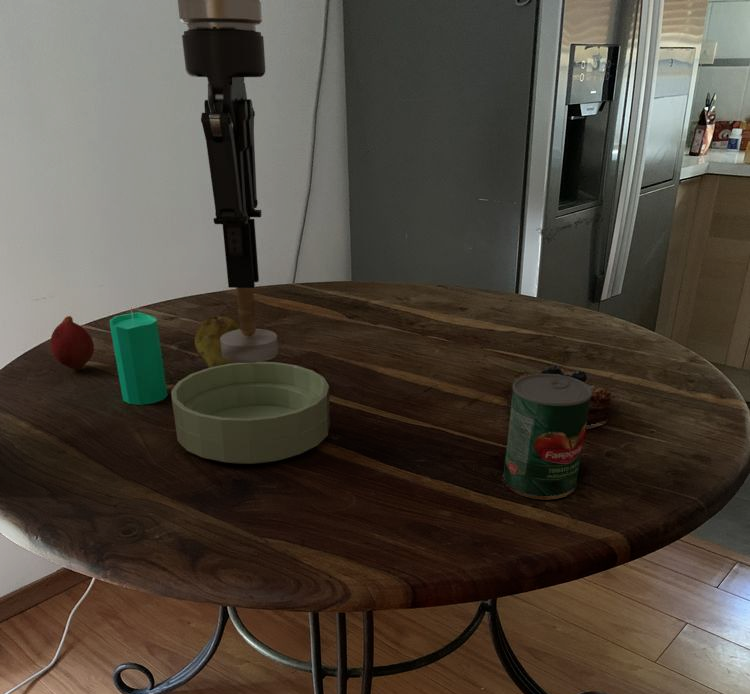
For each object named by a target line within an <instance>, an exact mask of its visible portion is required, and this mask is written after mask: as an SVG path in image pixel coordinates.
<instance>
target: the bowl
mask: <svg viewBox="0 0 750 694" xmlns="http://www.w3.org/2000/svg"><path fill="white" fill-rule="evenodd" d="M170 394H171V405H172V410H173V411H172V412H173V417H174V425H175V426H174V427H175V431H176V439H177V442H178V443H179V445H181V446H182V448H184V449H185V450H186V451H187V452H189V453H191V454H193V455H196V456H198V457H200V458H202V459H205V460H211V461H216V462H222V463H226V464H235V465H236V464H237V465H254V464H265V463H266V464H267V463H273V462H277V461H278V462H279V461H282V460H286V459H289V458H292V457H295V456H298V455H301V454H303V453H305V452H307V451H309V450H311V449H313V448H315V447H317V446H319V445H320V444H321V443H322V442H323V441H324V440H325V439H326V438H327V437H328V435H329V430H330V426H331V418H330V417H331V416H330V415H331V413H330V411H331V409H330V384H328V382H327V380H326V379H325V377H324V376H322V375H321V374H319V373H317V372H316V371H314V370H313V369H310V368H306V367H303V366H300V365H296V364H290V363H283V362H277V361H264V362H256V363H231V364H226V365H221V366H216V367H211V368H209V367H208V368H204V369H202V370H199V371H196V372H193V373H191V374H189V375H187V376H186V377H183V378H182V379H181V380H178V381H177V382H176V384H175V385H174V387H173V388H172V389H171V391H170Z"/></svg>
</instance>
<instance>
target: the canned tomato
mask: <svg viewBox="0 0 750 694" xmlns="http://www.w3.org/2000/svg"><path fill="white" fill-rule="evenodd" d="M523 376H524V375H523ZM516 379H517V378H516ZM591 396H592V389H591V388H590V387H589V386H588V385H587V384H586V383H584V382H582V381H580V380H578V379H575V378H572V377H568V376H563V375H556V374H540V373H533V374H531V375H530V374H529V375H527V376H524V377H521V378H519V379H517V380H516V381H515V382H514V384H513V394H512V401H511V409H509V411H510V413H509V421H508V429H507V431H508V432H507V437H506V448H505V456H504V464H503V467H504V468H503V474H502V477H504V480H505V482H506V483H507V484H508V485H509V486H510V487H512V488H514V489H515V490H517V491H520V492H522V493H527V494H530V495H531V494H532V495H537V496H551V495H552V496H553V495H559V494H563V493H567V492H568V491H570V490H572V489H573V488H574V487H575V485H576V486H577V480H578V476H579V469H580V465H581V464H580V463H581V459H582V453H583V447H584V440H585V435H586V430H585V429H586V425H587V419H588V412H589V406H590V399H591Z"/></svg>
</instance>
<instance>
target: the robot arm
mask: <svg viewBox="0 0 750 694" xmlns="http://www.w3.org/2000/svg"><path fill="white" fill-rule="evenodd" d="M177 6H178V16H179V21H180V22H181V23H182V24H185V25H186V29H187V30H184V31H183V34H181V40H182V50H183V58H184V59H183V60H184V66H185V67H184V68H185V71H186V74H187V75H188V76H189V77H192V78H207V99H205V100H204V105H203V106H204V112H202V113H201V115H200V122H201V125H202V130H203V133H204V139H205V144H206V151H207V159H208V165H209V173H210V181H211V188H212V195H213V202H214V208H215V209H214V211H215V217H213V218H212V219H213V223H214V225H222V234H223V243H224V245H223V246H224V255H225V264H226V277H227V284H228V285H227V286H228V287H227V288H230V289H236V288H253V289H254V288H255V287H256V284H255V283H258V282H259V281H260V277H259V276H260V275H259V264H258V249H257V248H258V247H257V237H256V235H257V234H256V223H255V221H256V220H255V218H262V209H257V208H258V204H259V203H258V196H257V174H256V173H257V171H256V152H255V116H256V113H255V109H254V106H253V101H252V99H249V98H248V93H247V89H246V88H247V87H246V83H245V78H262V77H264V75H265V74H266V57H265V41H264V36H263V35H262V32H260V31H257V30H256V26H258V25H259V26H260V24H261V23H262V22H263V19H262V2H261V1H260V0H177ZM246 212H247V216H246ZM247 218H248V223H247Z"/></svg>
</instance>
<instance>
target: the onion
mask: <svg viewBox="0 0 750 694" xmlns="http://www.w3.org/2000/svg"><path fill="white" fill-rule="evenodd" d="M49 348H50V352H51V355H52V356H53V358H54V359H55V361H57V362H58V363H59V364H61V365H63V366H64V367H67V368H69V369H71V370H74V371H80V370H82V369H83V368H84V366H85V365H86V364H87V363H88V362H89V361H90V360H91V358H92V357H93V355H94V352H95V344H94V341H93V338H92V336H91V334H90V333H89V332H88V330H86V329H85V328H84V327H83V326H81V325H80V324H78V323H75V322H74V319H73V317H72V316H71V315H67V316H65V317H64V318H63V320H62V321H61V323H59V324H58V325H57V326H56V327H55V328H54V330H53V332H52V333H51V336H50V341H49Z"/></svg>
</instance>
